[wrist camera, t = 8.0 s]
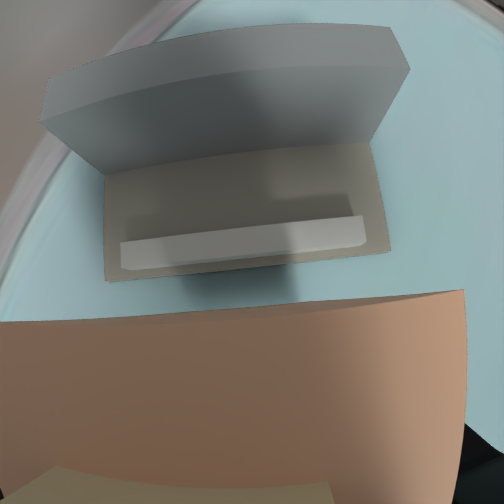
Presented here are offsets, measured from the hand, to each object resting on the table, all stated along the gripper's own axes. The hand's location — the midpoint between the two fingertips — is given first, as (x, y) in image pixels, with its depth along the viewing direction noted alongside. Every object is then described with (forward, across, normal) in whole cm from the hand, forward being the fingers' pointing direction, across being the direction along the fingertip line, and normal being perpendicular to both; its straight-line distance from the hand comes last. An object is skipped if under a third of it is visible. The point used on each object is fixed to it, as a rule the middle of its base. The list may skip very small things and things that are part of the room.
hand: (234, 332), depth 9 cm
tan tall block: (+4, 0, +6) cm, 7 cm away
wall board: (+13, 0, +2) cm, 13 cm away
